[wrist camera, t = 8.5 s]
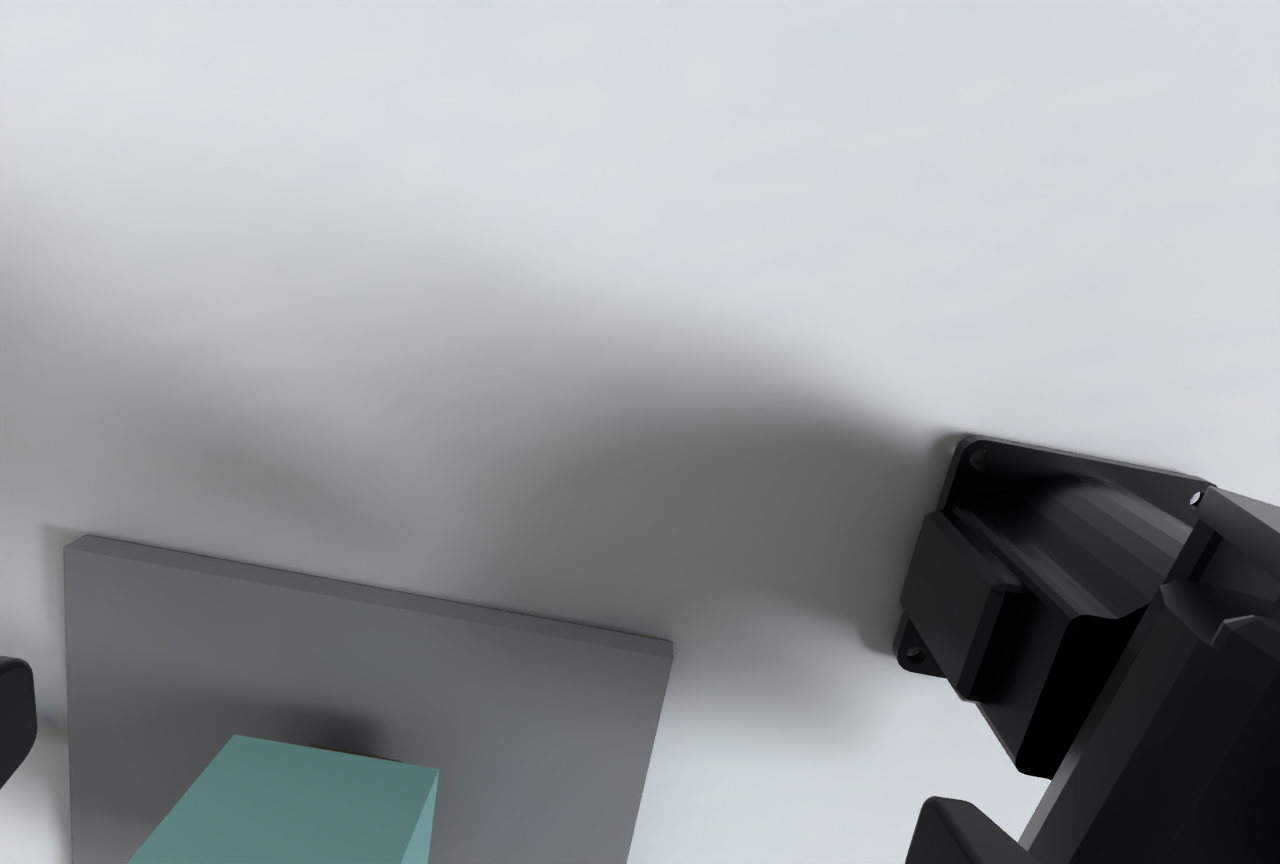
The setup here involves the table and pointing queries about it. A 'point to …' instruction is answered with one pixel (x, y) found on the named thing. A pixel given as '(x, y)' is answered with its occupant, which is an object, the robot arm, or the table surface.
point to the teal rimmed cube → (297, 810)
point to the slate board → (351, 701)
